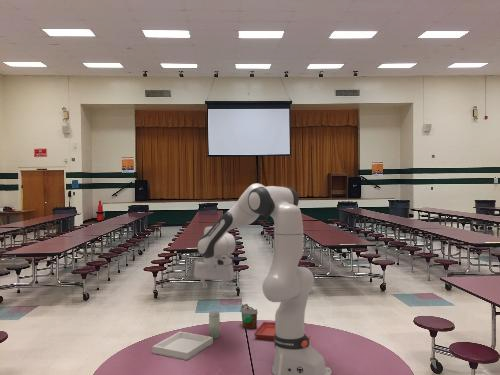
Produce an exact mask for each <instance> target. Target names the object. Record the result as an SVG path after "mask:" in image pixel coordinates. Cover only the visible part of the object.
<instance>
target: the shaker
mask: <svg viewBox="0 0 500 375" xmlns="http://www.w3.org/2000/svg"><path fill="white" fill-rule="evenodd" d="M220 317H221V316H220V311H219V310H210V311H208V333H209V334H208V336H210V337H213V340H214V339H218V338H220V337H221V331H220V330H221V328H220V327H221V326H220V325H221V324H220V323H221V321H220Z"/></svg>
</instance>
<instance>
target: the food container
mask: <svg viewBox="0 0 500 375" xmlns="http://www.w3.org/2000/svg"><path fill="white" fill-rule="evenodd" d="M239 312H240V313H241V321H242V322H241V323H242V328H243V329H245V330H257V329H258V328H257V326H258V309H254V307H253V306H252V307H251V306H249V304H248V303H245V304H242V305H241V306H240V310H239Z"/></svg>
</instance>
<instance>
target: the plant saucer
mask: <svg viewBox="0 0 500 375" xmlns="http://www.w3.org/2000/svg"><path fill="white" fill-rule="evenodd" d="M274 334H275V322H271V321H263V322H262V323H261V324H260V325H259V327H258V328H257V329H255V332H254V333H253V335H254V336H255V337H256V338H257V339H258V340H264V341H265V340H266V341H274Z"/></svg>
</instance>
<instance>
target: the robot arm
mask: <svg viewBox="0 0 500 375" xmlns="http://www.w3.org/2000/svg"><path fill="white" fill-rule="evenodd" d="M299 201H300V200H299V194H298V192H297V191H296V190H295V189H293V188H292V187H289V186H275V185H269V186H265V185H264V184H261V183H259V182H257V183H252V184H251V185H249V186H248V187H247V188H246V189H245V190H244V192H243V193H242V194H241V195H240V196H239V198H238V200H237V201H236V202H235V203H234V204H233V206H231V208H230V209H229V210H227V211H225V213H223V214H222V215H221V216H220V217H219V218H218V219H217V220H216V222H215V223H214V224H213V225H208V226H205V227H204V230H203V235H201V237H200V238H199V239H198V241H197V244H196V249H197V252H198V254H199V255H200V256H201V257H202V258H199V257H197V259H195V260H194V267H193V268H194V269H193V276H194V278H195V279H200V282H201V284H202V288H203V289H207V288H208V283H207V282H206V280H213V281H221V283H222V285H219V290H220V291H225V289H226V287H225V286H226V284H227V282H231V281H233V279H235V278H234V277H235V273H234V266H233V265H232V263H233V259H232V258H230V257H228V256H226V255H232V254H233V253H234V252H235V251H236V249H237V239H236V237H235V236H234V235H233V234H232V233H229V232H230V231H232V230H233V229H238V228H240V227H244V226H248V225H251V224H252V223H254V222H255V221H256V220H257V219H258V218H259V217H260V216H262V217H264V218H268V217H271V218H272V219H273V223H274V224H273V225H274V226H273V227H274V228H273V229H274V230H273V232H274V233H273V234H274V235H273V236H274V238H273V239H274V241H273V256H272V261H271V266H270V269H269V272H268V273H267V276H265V279H264V280H263V282H262V293H263V295H264V297H265V298H266V299H267V300H268V301H269V302H271V303H279V306H278V308H277V310H275V311H276V312H275V316H274V317H275V318H274V323H275V334H274V340H273V342H274V348H275V349H274V358H273V363H272V368H271V373H272V374H273V375H332V374H331V373H332V370H331V368H330V367H328V366H326V362H325V358H324V356H323V354H321V353H320V352H319V351H317V349H315V348H314V347H313V346H312V345H311V344H310V340H311V335H309V336H307V335H306V333H305V313H306V306H307V303H308V298H309V295H310V292H311V289H312V288H313V287H314V283H315V277H314V276H315V275H314V274H313V272H312V271H311V270H310V269H309V268H308V267H306V266H299V263H300V260H301V259H302V257H303V256H304V225H303V224H304V223H303V217H302V216H303V215H302V212H301V209H300V207H299Z"/></svg>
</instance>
